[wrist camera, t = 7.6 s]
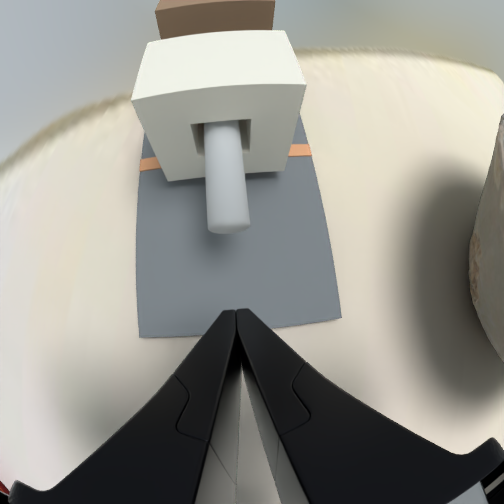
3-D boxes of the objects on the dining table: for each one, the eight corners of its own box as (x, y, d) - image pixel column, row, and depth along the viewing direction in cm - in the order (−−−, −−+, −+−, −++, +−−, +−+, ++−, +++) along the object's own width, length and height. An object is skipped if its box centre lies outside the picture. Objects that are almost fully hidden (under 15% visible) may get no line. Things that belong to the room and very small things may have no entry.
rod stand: (337, 318, 16) (442, 305, 7) (143, 337, 15) (37, 343, 6) (283, 71, 22) (297, -18, 12) (156, 82, 21) (132, -4, 11)
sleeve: (284, 170, 17) (306, 84, 10) (167, 181, 16) (131, 100, 9) (272, 113, 18) (284, 30, 11) (171, 122, 17) (148, 42, 10)
